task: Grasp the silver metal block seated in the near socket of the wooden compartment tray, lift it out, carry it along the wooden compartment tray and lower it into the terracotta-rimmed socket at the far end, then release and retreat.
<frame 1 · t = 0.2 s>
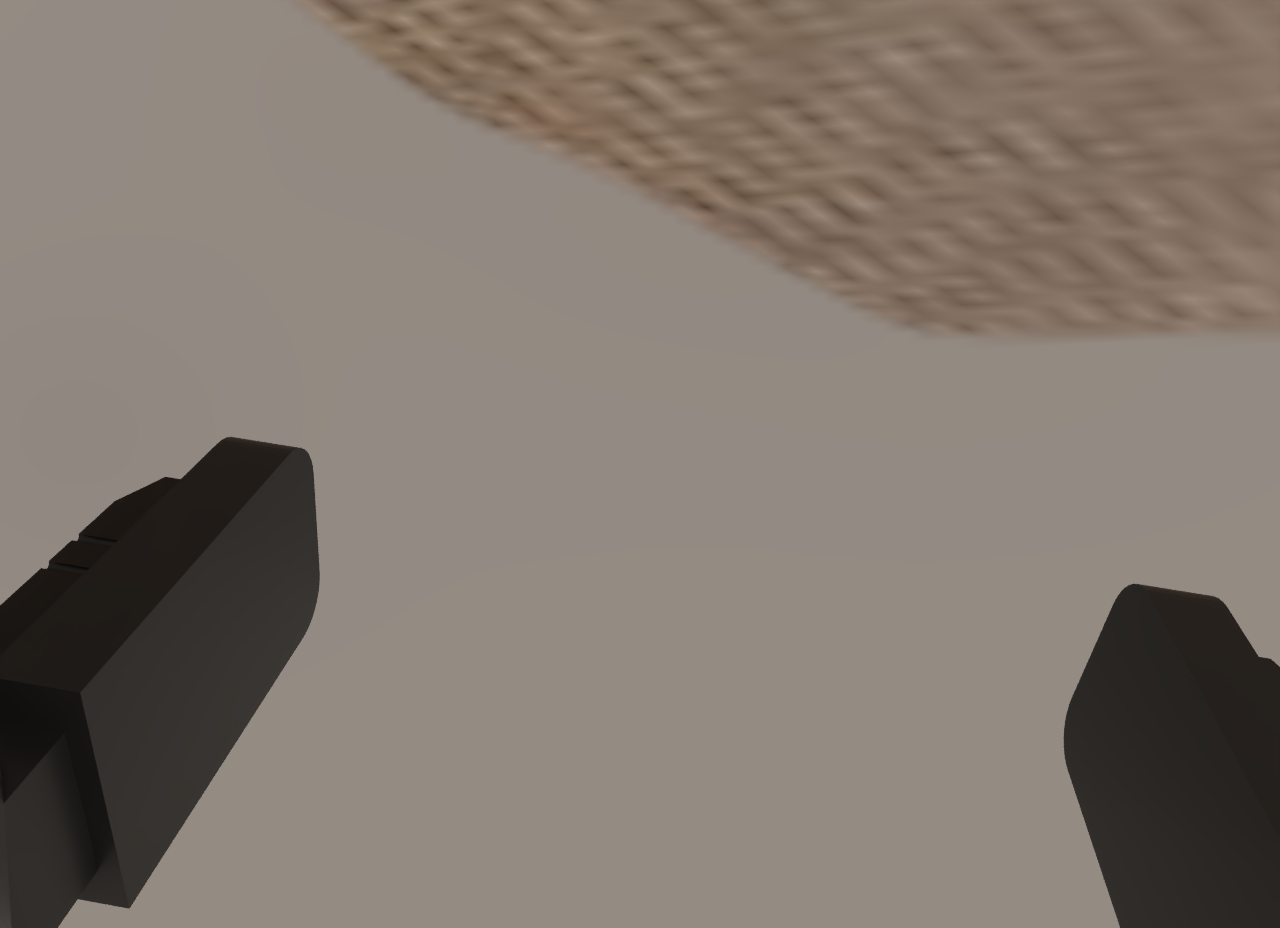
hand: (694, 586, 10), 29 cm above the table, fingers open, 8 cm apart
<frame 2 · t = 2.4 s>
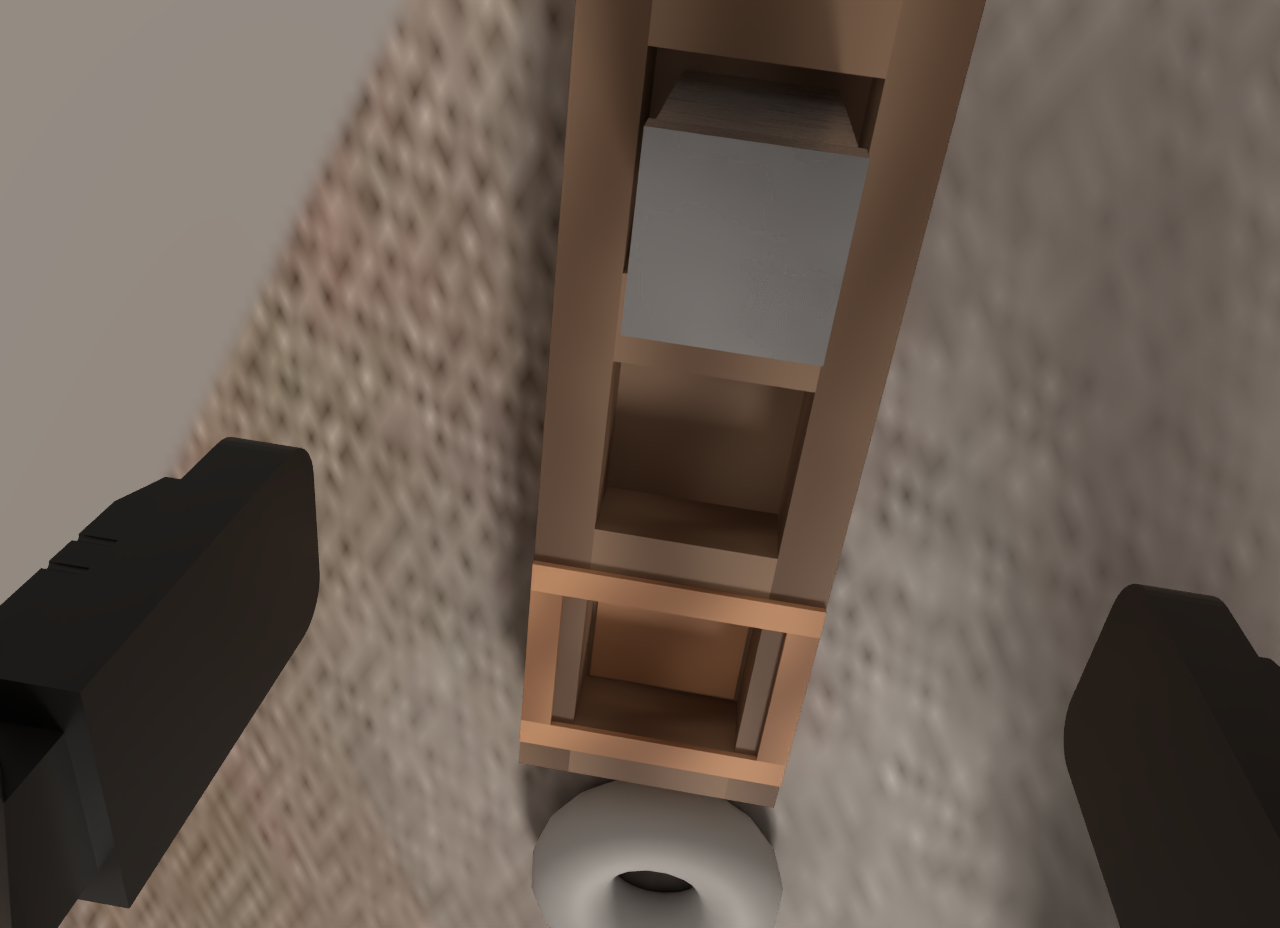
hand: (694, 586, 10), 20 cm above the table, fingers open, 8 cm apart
silver metal block: (748, 159, 26), resting on wooden compartment tray
donut: (660, 843, 41), on the table
wooden compartment tray: (705, 417, 31), on the table
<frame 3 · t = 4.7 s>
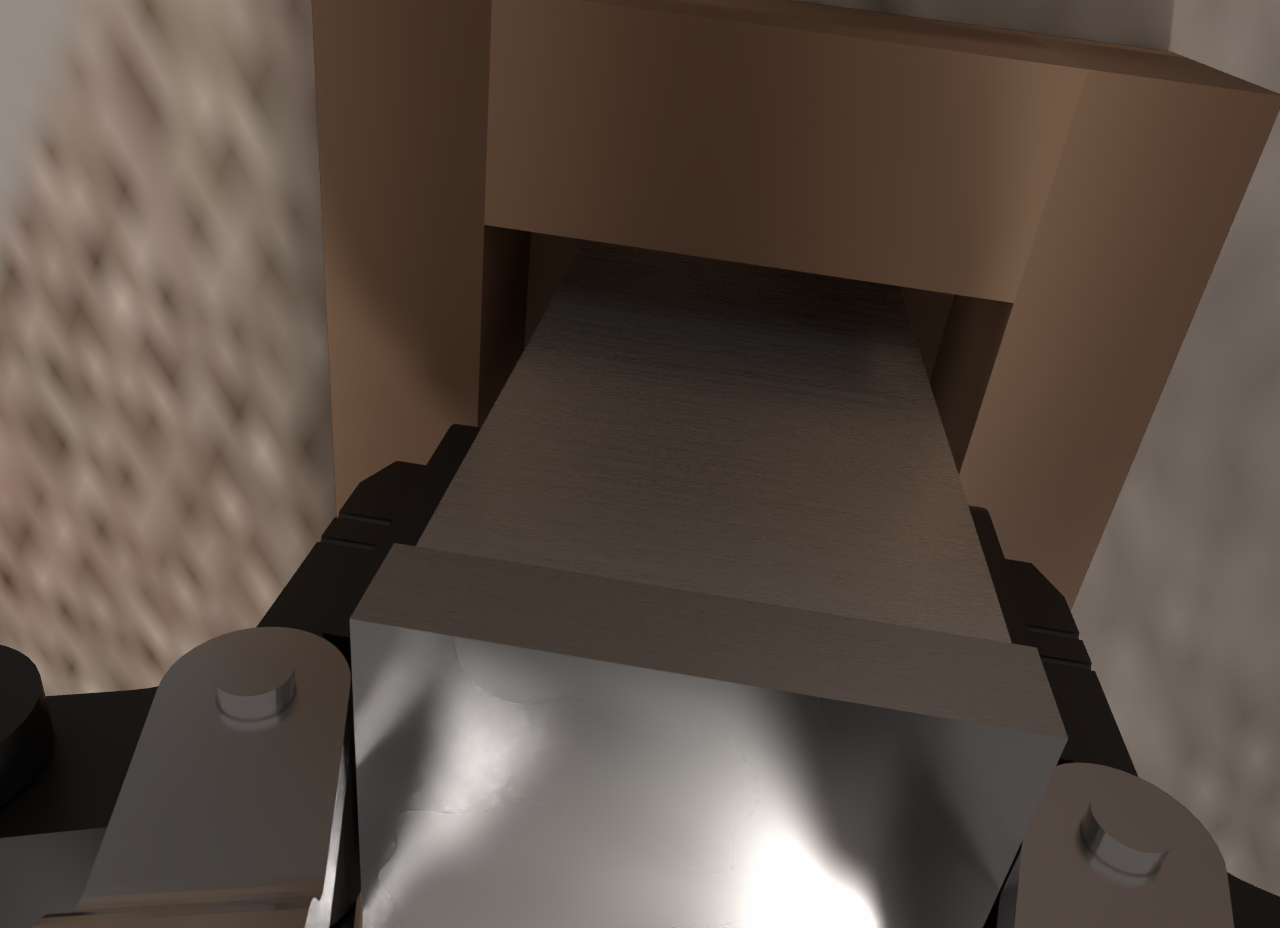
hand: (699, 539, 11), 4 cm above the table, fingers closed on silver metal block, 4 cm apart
silver metal block: (718, 396, 14), point 1 cm above the table, touching gripper, wooden compartment tray
wooden compartment tray: (653, 775, 18), on the table
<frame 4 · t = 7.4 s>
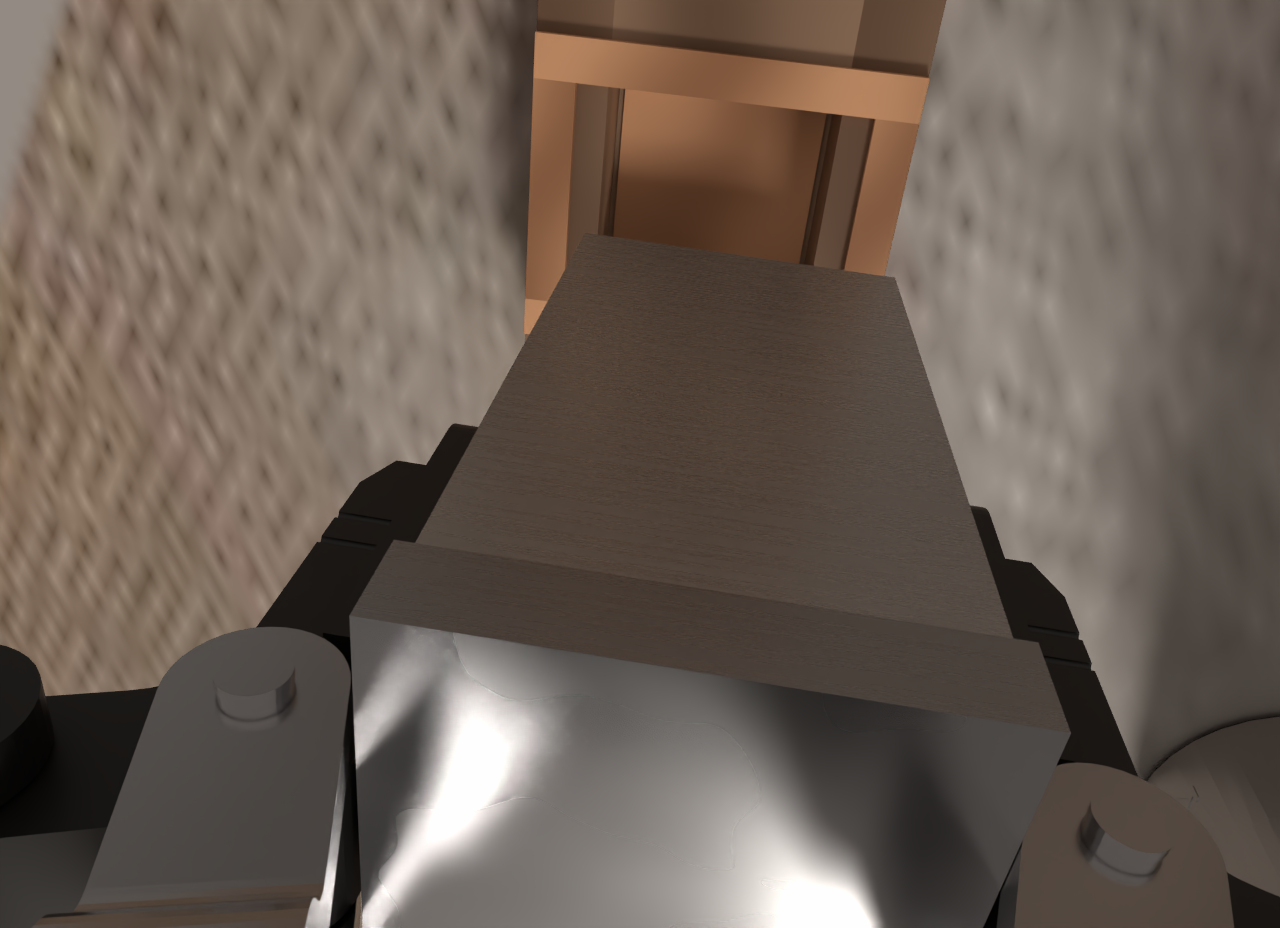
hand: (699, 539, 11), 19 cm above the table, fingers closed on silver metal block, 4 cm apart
silver metal block: (715, 394, 14), point 15 cm above the table, touching gripper
when the fingers open (6 cm above the table, at t = 10.1 s): silver metal block drops 1 cm, resting on wooden compartment tray.
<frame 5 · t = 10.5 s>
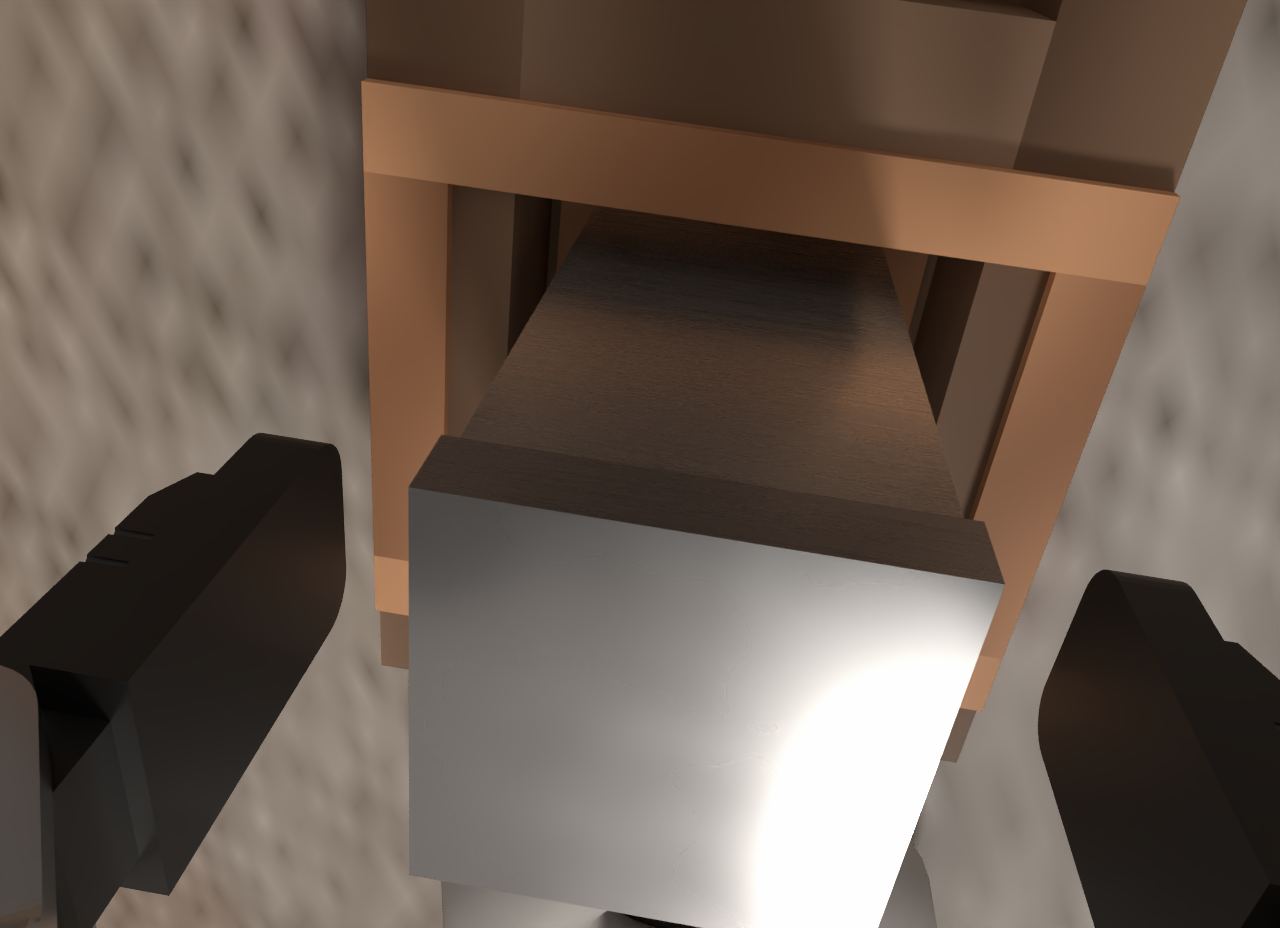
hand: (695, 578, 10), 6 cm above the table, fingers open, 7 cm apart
silver metal block: (717, 352, 15), point 1 cm above the table, touching wooden compartment tray
donut: (690, 844, 22), on the table
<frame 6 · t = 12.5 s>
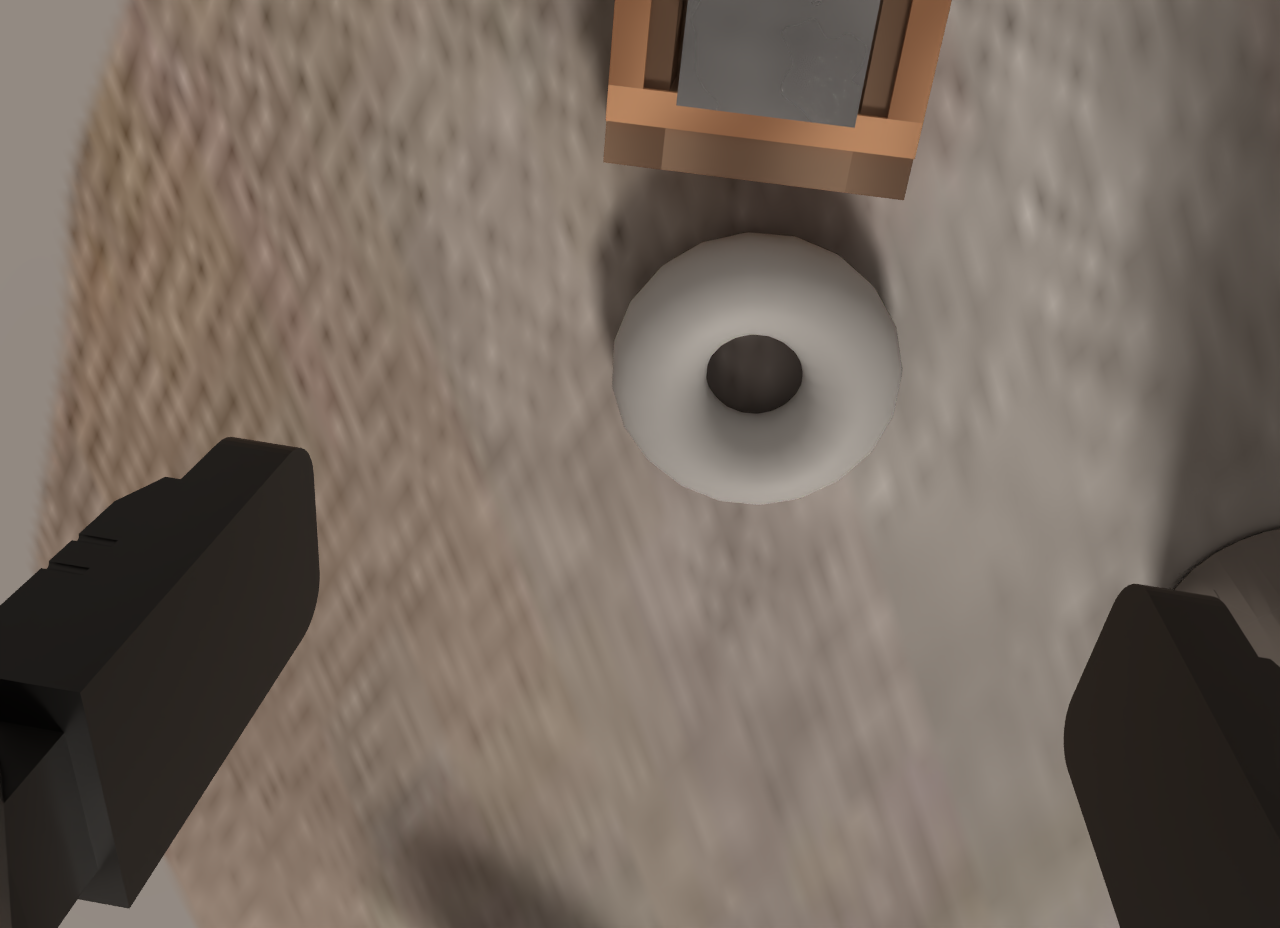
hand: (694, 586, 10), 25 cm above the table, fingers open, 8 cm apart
donut: (754, 353, 36), on the table
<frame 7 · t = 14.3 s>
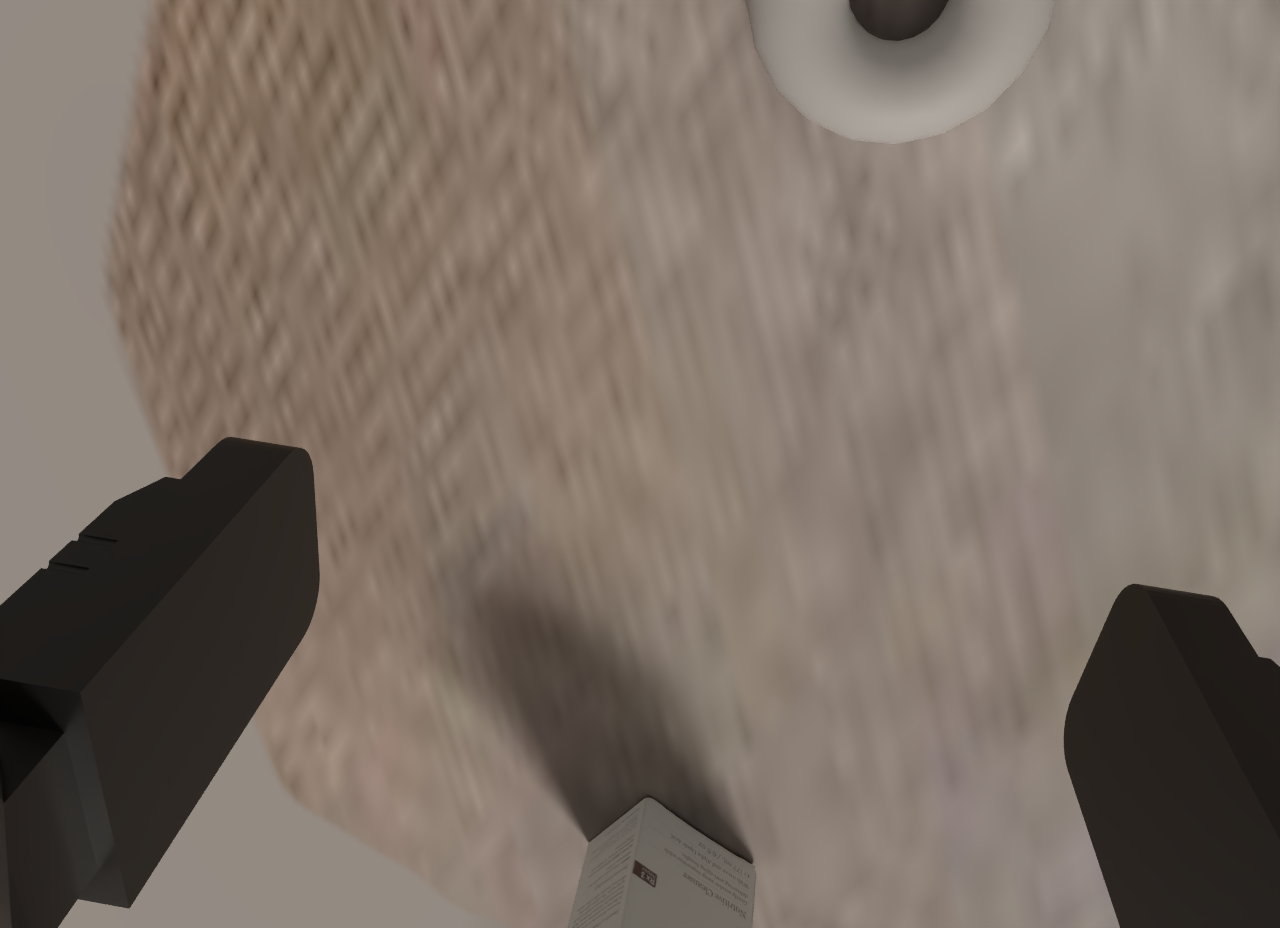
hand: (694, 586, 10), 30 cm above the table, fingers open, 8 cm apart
skincare box: (667, 849, 57), on the table
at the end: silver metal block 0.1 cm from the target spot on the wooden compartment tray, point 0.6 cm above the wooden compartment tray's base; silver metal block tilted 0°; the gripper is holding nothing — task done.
